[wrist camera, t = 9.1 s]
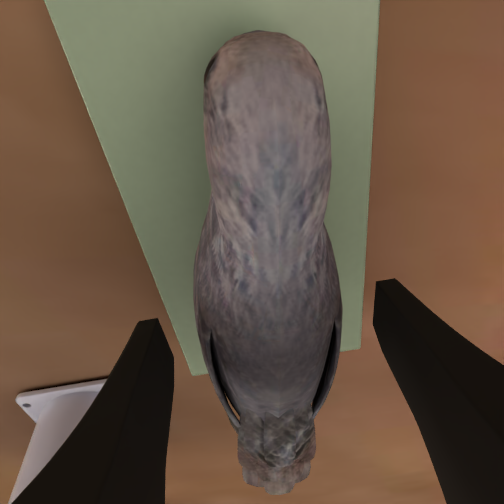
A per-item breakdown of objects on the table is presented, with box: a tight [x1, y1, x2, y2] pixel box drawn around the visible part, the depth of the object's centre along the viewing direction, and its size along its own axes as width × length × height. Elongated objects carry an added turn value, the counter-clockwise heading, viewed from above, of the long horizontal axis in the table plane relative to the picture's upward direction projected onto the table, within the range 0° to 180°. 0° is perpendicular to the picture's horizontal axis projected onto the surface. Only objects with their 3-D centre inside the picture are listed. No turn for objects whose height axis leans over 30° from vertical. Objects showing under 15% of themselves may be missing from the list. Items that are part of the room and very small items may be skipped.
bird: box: [193, 30, 343, 495], centre depth 14 cm, size 5×16×8 cm, turn 2°
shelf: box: [44, 0, 380, 376], centre depth 18 cm, size 19×10×3 cm, turn 8°
